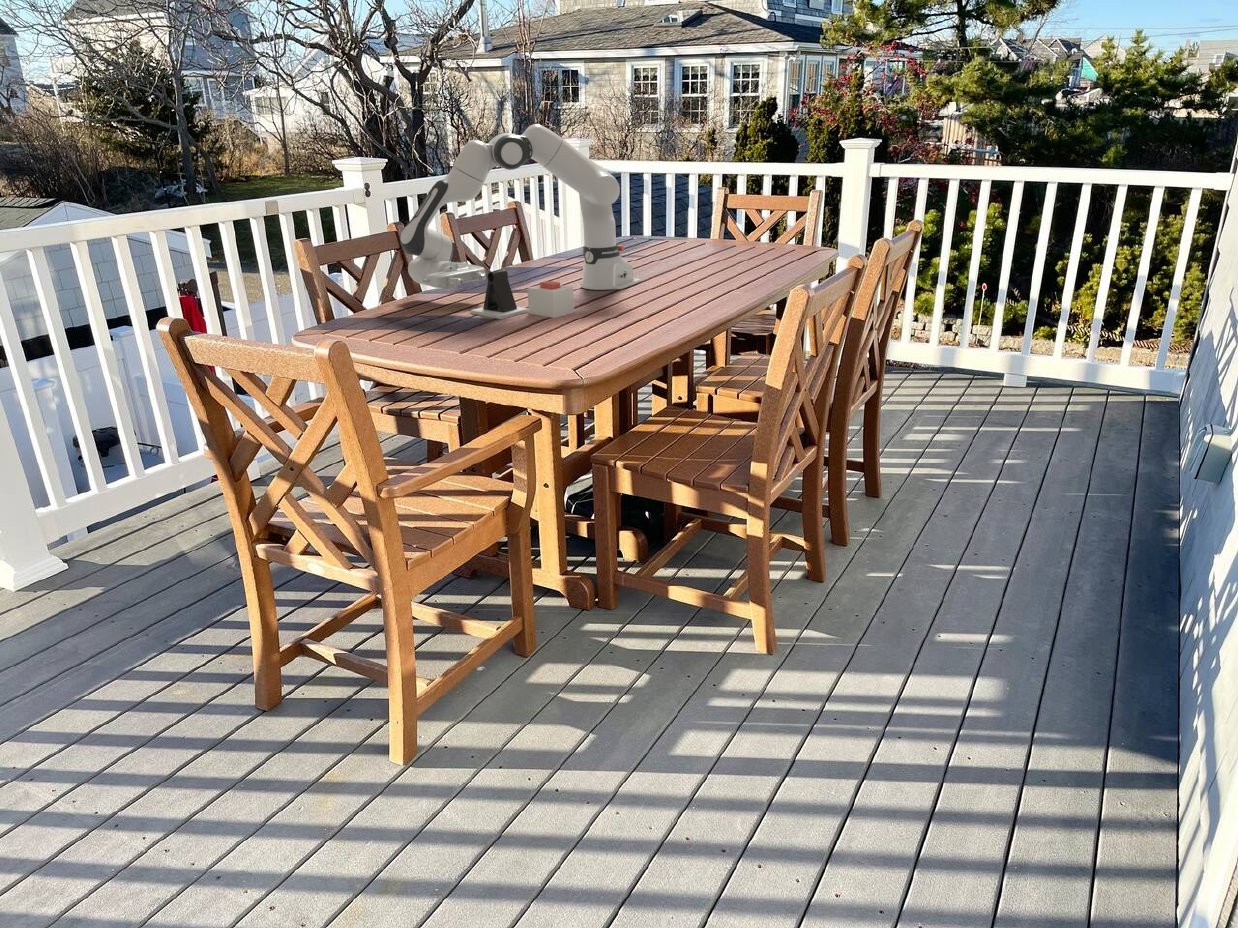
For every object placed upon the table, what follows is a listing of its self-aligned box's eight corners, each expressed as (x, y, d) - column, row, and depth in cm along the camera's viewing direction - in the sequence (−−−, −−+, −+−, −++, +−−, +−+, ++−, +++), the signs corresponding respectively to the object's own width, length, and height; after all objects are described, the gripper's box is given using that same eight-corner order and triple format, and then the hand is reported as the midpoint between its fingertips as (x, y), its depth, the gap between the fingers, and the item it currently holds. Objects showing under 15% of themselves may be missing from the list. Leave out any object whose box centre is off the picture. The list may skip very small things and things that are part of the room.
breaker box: (549, 308, 287) (548, 283, 284) (574, 312, 280) (573, 287, 277) (529, 313, 281) (527, 287, 278) (553, 318, 274) (552, 292, 271)
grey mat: (499, 306, 291) (499, 303, 291) (529, 311, 283) (528, 308, 282) (470, 313, 283) (470, 310, 283) (500, 319, 275) (500, 315, 274)
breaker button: (548, 290, 281) (548, 280, 280) (560, 292, 278) (559, 282, 277) (540, 292, 278) (540, 282, 277) (552, 294, 275) (551, 284, 274)
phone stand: (483, 309, 283) (480, 271, 279) (496, 306, 287) (493, 268, 283) (503, 312, 278) (500, 274, 273) (517, 309, 282) (514, 270, 278)
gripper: (418, 270, 287) (446, 274, 278) (467, 261, 301) (495, 265, 292) (420, 289, 289) (448, 294, 281) (469, 279, 303) (497, 284, 295)
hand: (472, 279), depth 287 cm, fingers open, 8 cm apart
